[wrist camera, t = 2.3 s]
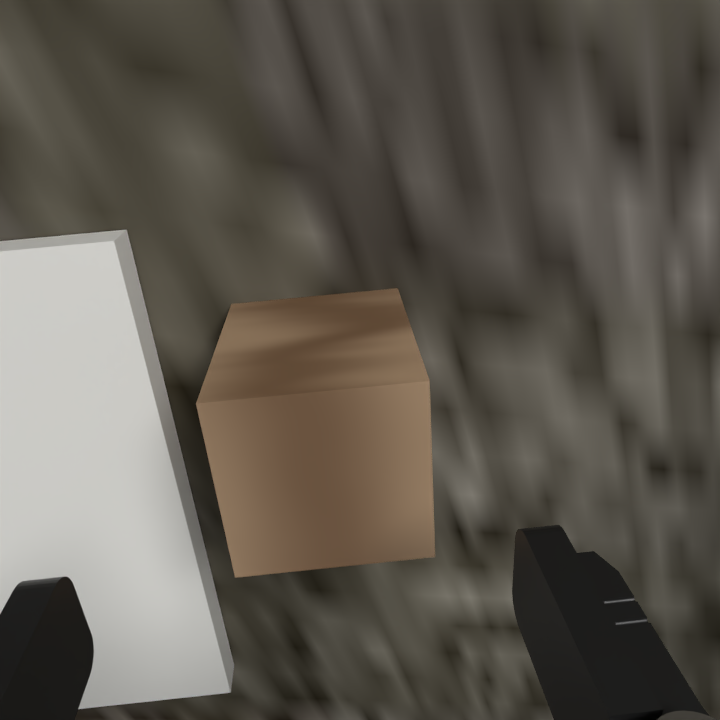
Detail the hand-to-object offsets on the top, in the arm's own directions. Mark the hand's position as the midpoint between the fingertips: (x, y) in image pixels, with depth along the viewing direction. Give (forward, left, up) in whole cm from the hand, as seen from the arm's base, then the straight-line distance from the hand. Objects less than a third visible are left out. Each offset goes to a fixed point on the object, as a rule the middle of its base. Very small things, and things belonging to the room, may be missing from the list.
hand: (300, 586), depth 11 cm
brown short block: (0, 0, -9) cm, 9 cm away
